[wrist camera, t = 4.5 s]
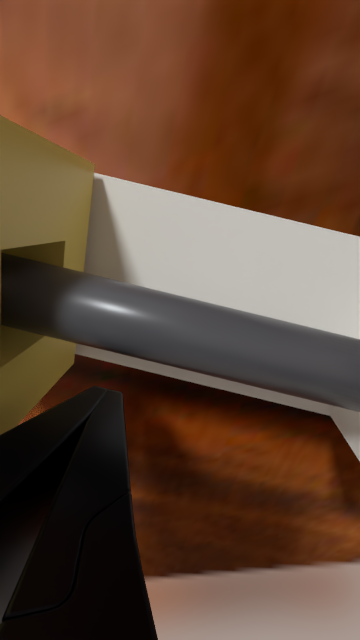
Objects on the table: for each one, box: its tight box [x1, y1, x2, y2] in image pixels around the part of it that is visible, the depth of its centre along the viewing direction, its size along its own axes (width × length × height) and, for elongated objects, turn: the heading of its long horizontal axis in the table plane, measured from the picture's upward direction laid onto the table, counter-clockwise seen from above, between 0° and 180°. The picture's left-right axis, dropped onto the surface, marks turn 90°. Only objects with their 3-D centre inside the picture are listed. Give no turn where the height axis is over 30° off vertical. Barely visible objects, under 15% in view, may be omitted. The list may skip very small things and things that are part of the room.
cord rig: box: [1, 173, 360, 461], centre depth 7 cm, size 16×6×5 cm, turn 77°
